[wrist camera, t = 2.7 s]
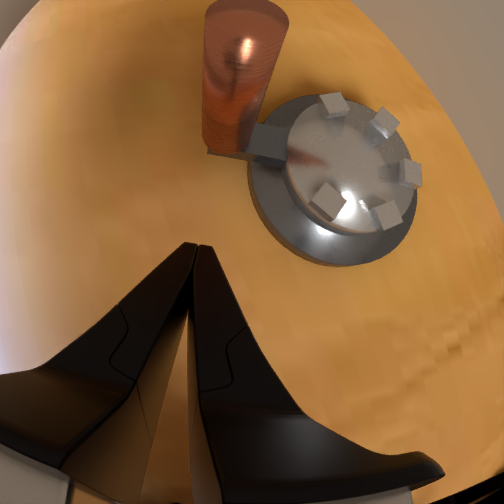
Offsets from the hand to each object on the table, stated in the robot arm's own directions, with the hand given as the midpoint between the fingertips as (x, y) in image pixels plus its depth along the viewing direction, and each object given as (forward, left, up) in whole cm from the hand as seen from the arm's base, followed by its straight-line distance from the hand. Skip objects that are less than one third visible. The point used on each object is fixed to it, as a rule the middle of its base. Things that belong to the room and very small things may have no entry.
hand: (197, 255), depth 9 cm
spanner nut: (+11, +2, -10) cm, 15 cm away
